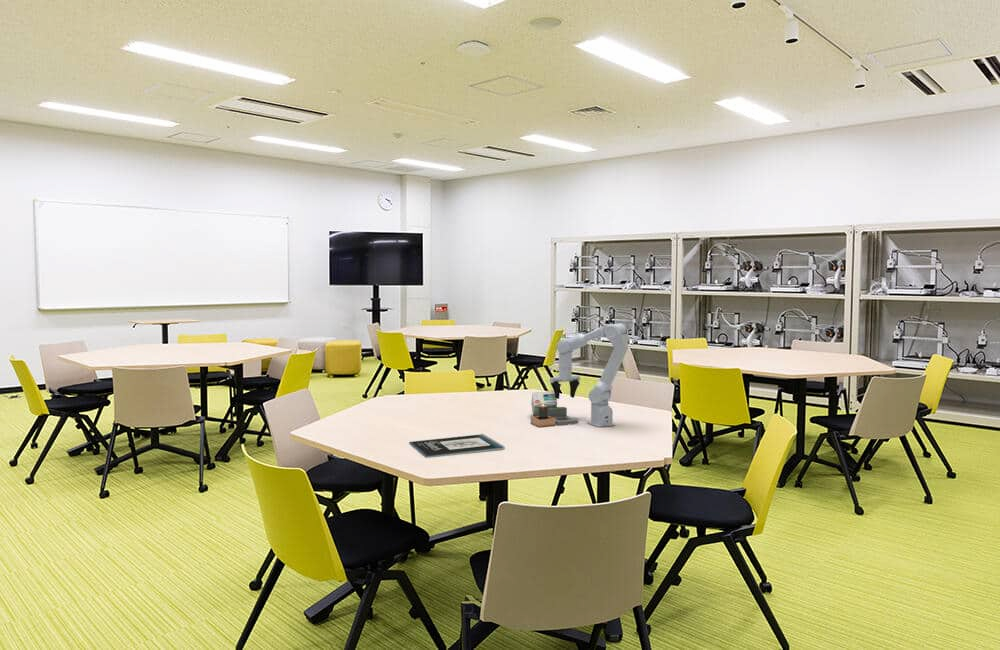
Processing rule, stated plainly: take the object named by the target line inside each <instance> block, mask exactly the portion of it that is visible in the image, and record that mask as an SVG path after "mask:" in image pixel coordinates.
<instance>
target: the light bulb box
mask: <svg viewBox="0 0 1000 650" xmlns="http://www.w3.org/2000/svg"><path fill="white" fill-rule="evenodd" d="M531 394H532V396H531V404H530V405H531V411H532V417H533V416H538V404H541V403H545V404H548V408H551V407H558V399H557V398H555V393H554V390H550V391H548V390H547V391H541V392H540V391H539V392H532V393H531Z"/></svg>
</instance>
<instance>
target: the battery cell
mask: <svg viewBox="0 0 1000 650" xmlns="http://www.w3.org/2000/svg"><path fill="white" fill-rule="evenodd" d="M537 416H538V419H539V420H544V419H548V404H545V403H541V404H538V415H537Z"/></svg>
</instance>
